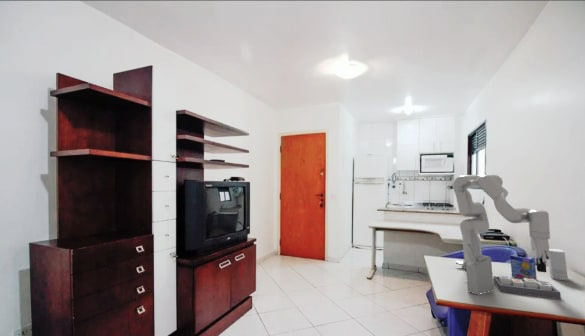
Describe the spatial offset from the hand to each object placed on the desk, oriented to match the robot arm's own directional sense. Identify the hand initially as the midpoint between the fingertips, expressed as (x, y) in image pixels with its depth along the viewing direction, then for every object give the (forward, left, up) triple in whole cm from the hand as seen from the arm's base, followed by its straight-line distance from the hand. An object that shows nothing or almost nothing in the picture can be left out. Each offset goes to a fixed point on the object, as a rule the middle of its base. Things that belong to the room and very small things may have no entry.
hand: (541, 271), depth 132 cm
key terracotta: (-10, 0, -9) cm, 13 cm away
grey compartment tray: (-7, 0, -10) cm, 12 cm away
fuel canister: (-28, -12, -10) cm, 33 cm away
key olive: (-5, 0, -8) cm, 9 cm away
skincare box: (+15, +27, -10) cm, 32 cm away
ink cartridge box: (-2, +20, -10) cm, 22 cm away
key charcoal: (0, 0, -9) cm, 9 cm away
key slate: (-15, 0, -8) cm, 17 cm away
